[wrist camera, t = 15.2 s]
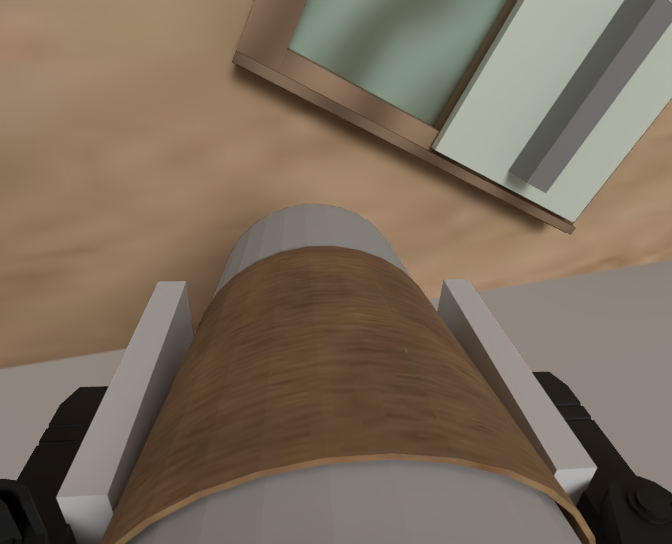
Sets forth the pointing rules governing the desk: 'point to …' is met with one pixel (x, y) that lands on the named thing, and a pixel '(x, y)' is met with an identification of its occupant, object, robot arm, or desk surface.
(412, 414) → the coffee cup
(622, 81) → the lid
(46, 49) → the desk surface
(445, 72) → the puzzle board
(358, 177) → the desk surface
